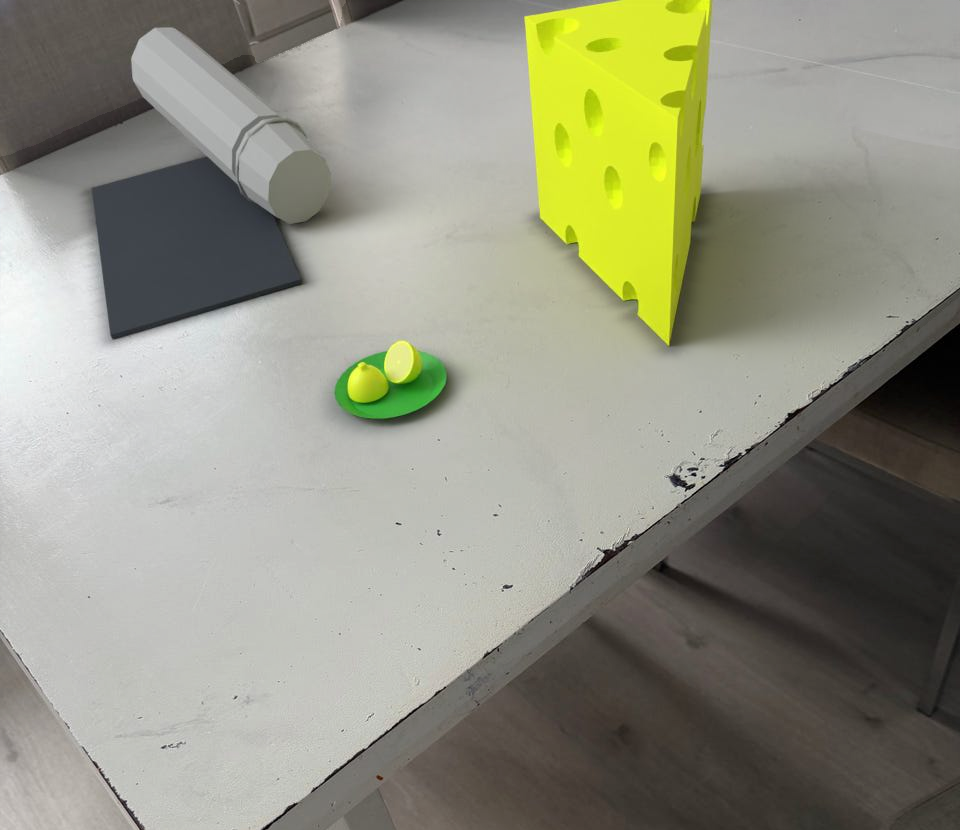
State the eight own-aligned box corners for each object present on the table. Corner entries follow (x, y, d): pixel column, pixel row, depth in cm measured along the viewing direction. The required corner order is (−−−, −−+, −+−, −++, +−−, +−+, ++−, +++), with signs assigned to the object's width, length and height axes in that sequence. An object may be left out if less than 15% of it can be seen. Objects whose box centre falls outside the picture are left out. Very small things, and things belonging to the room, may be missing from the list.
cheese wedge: (805, 216, 72) (838, -4, 60) (668, 346, 63) (677, 119, 52) (601, 171, 81) (597, -27, 69) (458, 279, 72) (426, 74, 61)
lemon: (401, 344, 68) (393, 309, 65) (471, 384, 63) (465, 349, 61) (314, 395, 65) (304, 361, 63) (381, 441, 60) (372, 406, 58)
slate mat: (93, 191, 92) (91, 187, 92) (245, 149, 94) (243, 145, 94) (112, 339, 73) (110, 334, 73) (302, 283, 75) (300, 279, 75)
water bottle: (108, 69, 86) (245, 195, 76) (160, 1, 85) (306, 121, 75) (175, 134, 95) (306, 256, 85) (223, 73, 93) (361, 190, 84)
